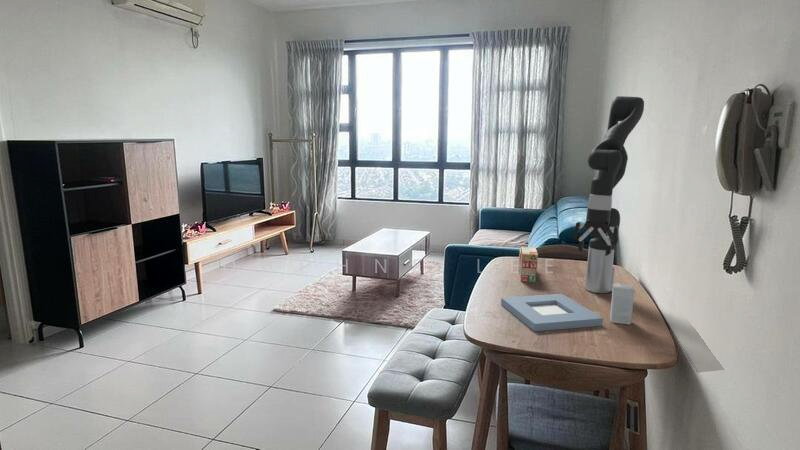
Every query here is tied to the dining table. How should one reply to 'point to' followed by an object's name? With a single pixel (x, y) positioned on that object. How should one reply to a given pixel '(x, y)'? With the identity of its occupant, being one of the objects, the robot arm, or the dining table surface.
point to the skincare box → (622, 304)
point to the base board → (550, 312)
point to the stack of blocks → (528, 264)
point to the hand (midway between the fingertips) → (593, 253)
